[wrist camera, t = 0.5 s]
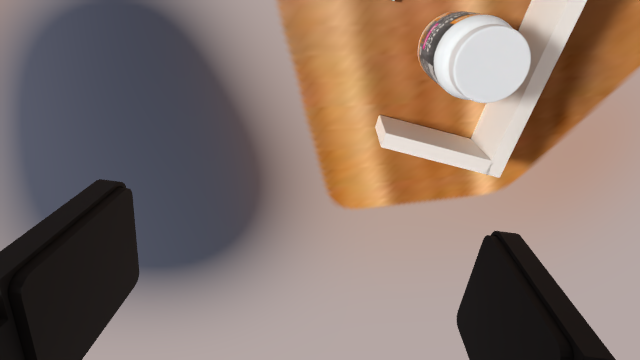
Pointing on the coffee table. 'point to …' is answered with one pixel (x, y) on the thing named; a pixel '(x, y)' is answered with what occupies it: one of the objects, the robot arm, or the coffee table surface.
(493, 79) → the pill bottle
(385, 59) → the coffee table surface
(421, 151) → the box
